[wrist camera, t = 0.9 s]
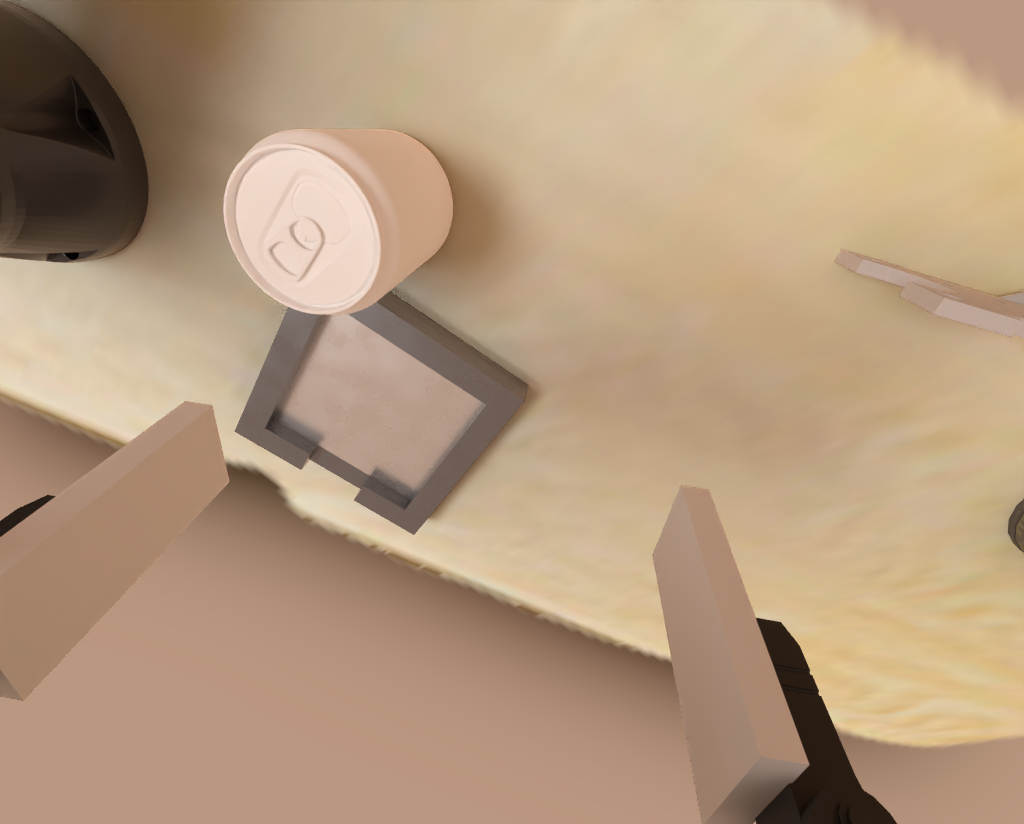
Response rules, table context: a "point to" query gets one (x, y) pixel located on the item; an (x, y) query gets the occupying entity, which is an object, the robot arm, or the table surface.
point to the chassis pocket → (380, 404)
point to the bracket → (945, 296)
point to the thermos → (1017, 526)
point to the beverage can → (335, 215)
